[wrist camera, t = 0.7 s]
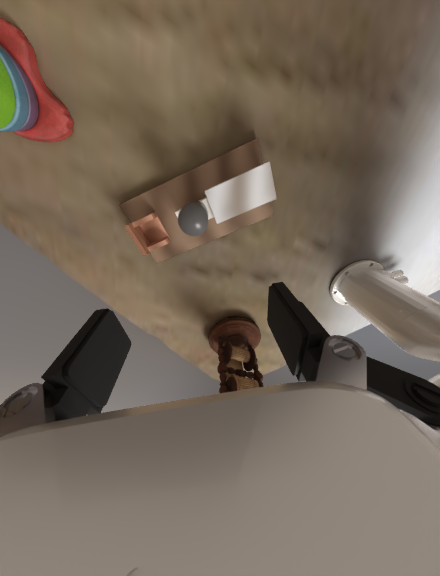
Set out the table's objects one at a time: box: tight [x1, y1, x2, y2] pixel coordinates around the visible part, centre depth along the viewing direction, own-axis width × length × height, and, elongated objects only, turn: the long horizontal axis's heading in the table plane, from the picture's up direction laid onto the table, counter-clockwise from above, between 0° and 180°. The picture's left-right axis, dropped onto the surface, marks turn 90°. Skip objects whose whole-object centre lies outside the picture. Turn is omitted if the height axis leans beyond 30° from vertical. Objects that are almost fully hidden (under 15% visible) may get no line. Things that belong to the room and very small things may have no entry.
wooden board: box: [119, 138, 277, 263], centre depth 29 cm, size 26×12×6 cm, turn 111°
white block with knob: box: [175, 197, 214, 236], centre depth 26 cm, size 14×4×9 cm, turn 111°
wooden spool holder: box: [209, 317, 263, 393], centre depth 41 cm, size 15×15×20 cm
